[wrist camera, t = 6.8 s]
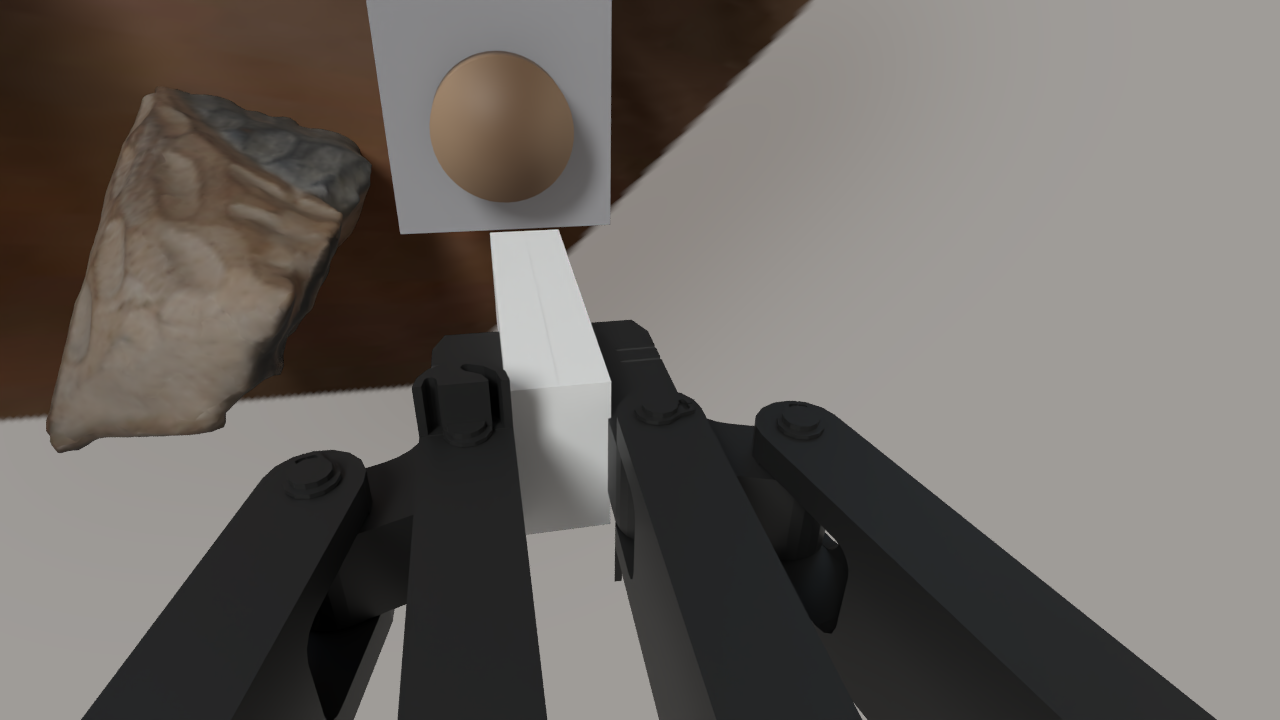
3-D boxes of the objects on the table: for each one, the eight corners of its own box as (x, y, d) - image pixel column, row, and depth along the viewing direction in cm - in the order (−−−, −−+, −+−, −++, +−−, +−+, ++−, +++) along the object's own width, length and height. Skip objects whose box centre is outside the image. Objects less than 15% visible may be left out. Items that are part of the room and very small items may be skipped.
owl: (383, 136, 45) (336, 250, 28) (354, 312, 51) (300, 496, 34) (154, 75, 41) (-61, 165, 24) (148, 273, 46) (-32, 461, 30)
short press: (417, 155, 46) (400, 234, 34) (395, -20, 41) (365, -5, 29) (571, 151, 48) (610, 224, 36) (567, -16, 43) (611, -1, 31)
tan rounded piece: (436, 137, 45) (425, 219, 31) (422, 9, 41) (402, 39, 28) (552, 135, 46) (588, 212, 33) (547, 11, 43) (587, 40, 29)
